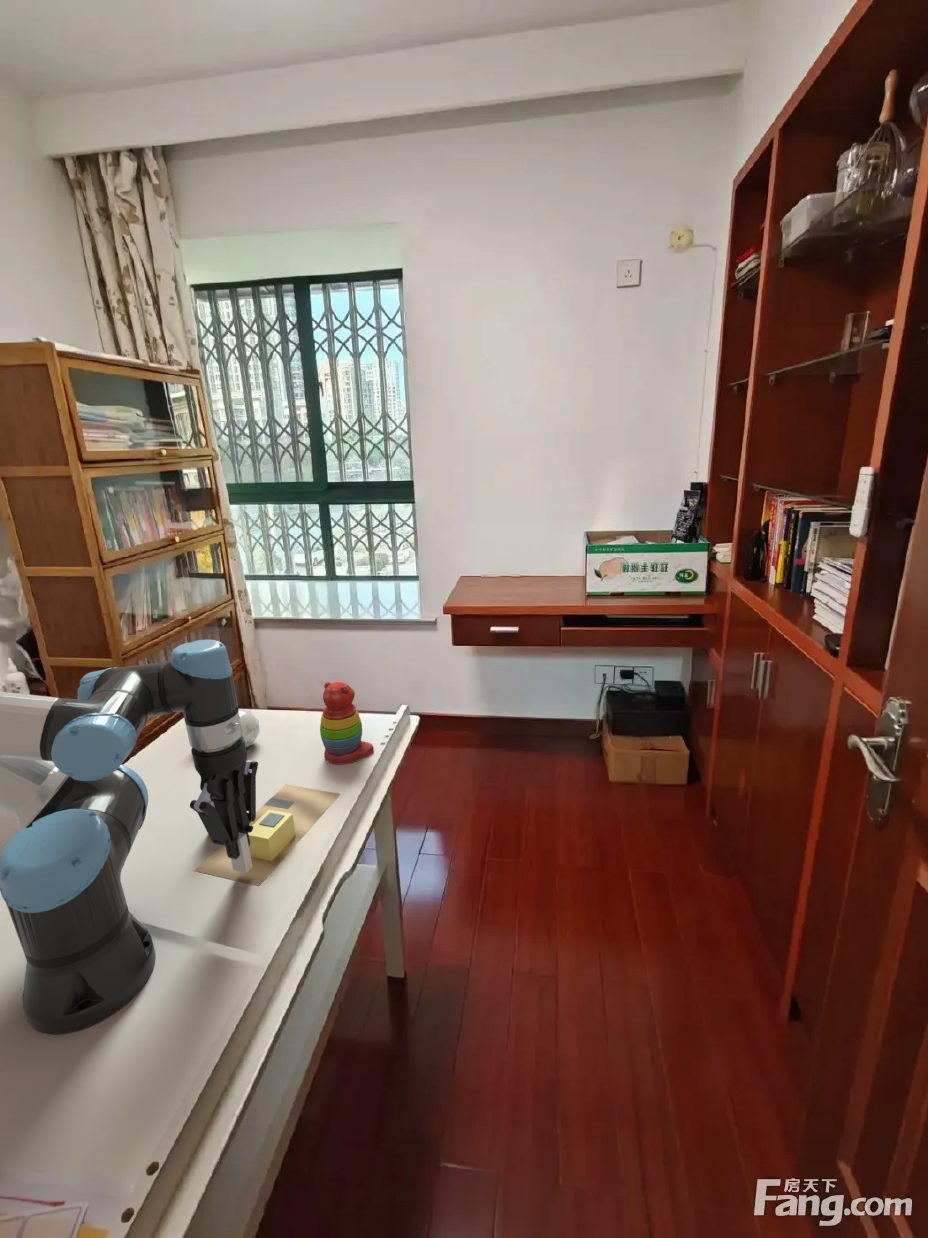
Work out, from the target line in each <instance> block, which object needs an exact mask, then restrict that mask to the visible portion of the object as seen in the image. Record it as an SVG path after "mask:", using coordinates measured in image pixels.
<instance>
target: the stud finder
mask: <svg viewBox="0 0 928 1238" xmlns="http://www.w3.org/2000/svg"><path fill="white" fill-rule="evenodd" d="M252 826H253V830H252V832H250V833H249V832H248V834H249V839H250V846H249V851H250V856H251V857H255V858H260V859H264V860H269V861H273V860H274V859H275V857H276V856H277V855H278V854H279V853H280V852H281V851H282V850H283V849H284V847H285V846H286V845H287V844H288V843H289V842H290V841H291V840H292V839H293V838H294V836H295V835H296V834H295V827H294V821H293V814H290V813H285V812H280V811H274V810H268V811H267V812H266V813H265V814H264V815H263V816H262V817H261V818H259V819H258V820H257V821H256V822H255V823H254V824H253V825H252Z"/></svg>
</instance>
